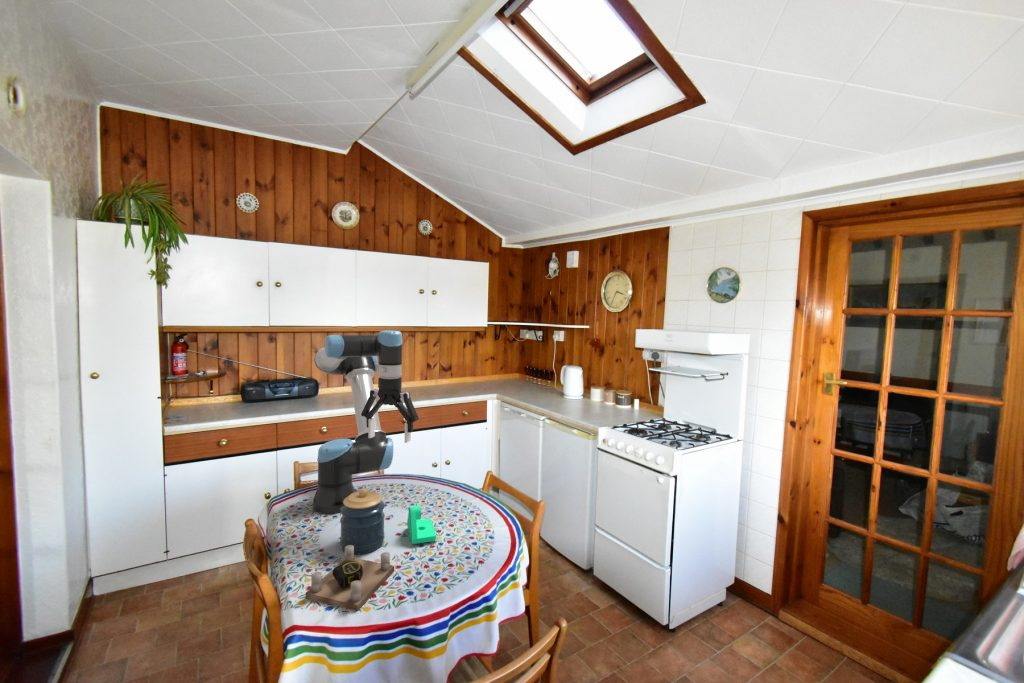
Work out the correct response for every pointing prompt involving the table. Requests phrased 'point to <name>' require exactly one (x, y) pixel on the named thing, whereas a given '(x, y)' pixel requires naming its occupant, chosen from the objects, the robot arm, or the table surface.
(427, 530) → the camera mount
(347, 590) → the pin board
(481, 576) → the table surface
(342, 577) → the tape measure
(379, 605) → the table surface
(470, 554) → the table surface
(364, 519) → the canister
